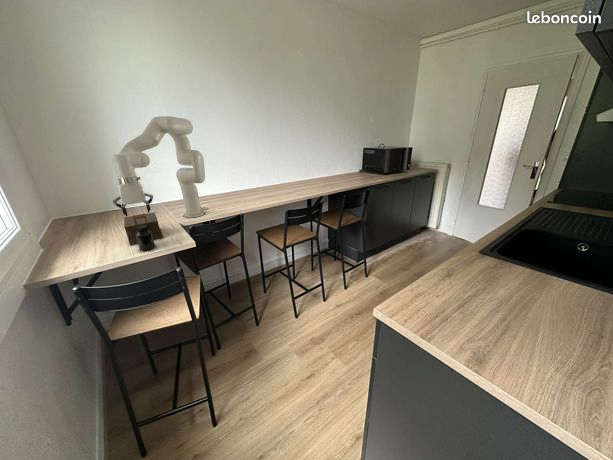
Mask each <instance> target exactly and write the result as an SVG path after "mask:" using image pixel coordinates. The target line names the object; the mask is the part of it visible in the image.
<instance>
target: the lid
mask: <svg viewBox="0 0 613 460" xmlns="http://www.w3.org/2000/svg"><path fill="white" fill-rule="evenodd" d="M123 220H124V221H123V222H124V223H123V226H124V227H123V228H124V229H125V228H130V227H135V226H141V225H146V224H151V223H156V222H158V223H159V221H158V217H157V215H156V211H154V212H153V211H152V212H150V213H149V212H147V213H139V214H134V215H131V216H125V217H124V219H123Z"/></svg>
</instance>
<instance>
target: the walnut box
mask: <svg viewBox="0 0 613 460" xmlns="http://www.w3.org/2000/svg"><path fill="white" fill-rule="evenodd" d="M146 225H147V227H148V230H150V231H151V232H152V236H153V239H154V241H158V240H162V239H163V236H162V232H161V229H160V225H159V221H158V222H156V223H151V224H146ZM136 227H138V226H135V227H130V228H124V230H125V233H126V236H127V240H128V242H129V246H134V245H138V242H137V239H136V233H137V231H136Z"/></svg>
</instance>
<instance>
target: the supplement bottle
mask: <svg viewBox="0 0 613 460" xmlns="http://www.w3.org/2000/svg"><path fill="white" fill-rule="evenodd" d="M136 231H137V233H136V239H137V242H138V244H137V245H138V248H139V250H140V251H141V252H149V251H153V250H154V249H155V248H156V243H155V240H154V239H153V236H152V232H151V231H150V230H148V227H147V225H141V226H138V227H136Z"/></svg>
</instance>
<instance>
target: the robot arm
mask: <svg viewBox="0 0 613 460" xmlns="http://www.w3.org/2000/svg"><path fill="white" fill-rule="evenodd" d="M193 130H194V125H193V124H192V122H191V120H189V119H187V118H182V117H177V116H172V115H171V116H170V115H169V116H168V115H167V116H166V115H165V116H162V115H161V116H160V115H159V116H154V117H153V118H151V119H150V121H149V123H148V124H147V125H146V127H145V128H144V130H143V131H142V133H140V134H138V135H137V136H135V137H134V138H133V139H131V140H129V141H128V142H127V143H126V144H125V145H124V146H122V149H121V150H120V151H119V153H115V154H112V156H111V160H112V164H113V167H114V170H115V174H116V177H117V180H118V184H117V188H118V193H119V196H117V197H115V198H114V199H112V201H111V202H112V203H113V204H114V205H115V206H116V207H117V208H120V209H121V210H122V214H123V215H124V216H125V217H129V216H128V211H127V208H126V206H127V205H133V204H141V203H144V204H145V207H146V211H147V213H151V212H150V211H151V206H150V204H151V203H152V202H153V199H154V195H153V194H151V193H147V192H145V191H144V188H143V185H142V183H141V180H142V179H141V176H137V172H136V170H135V169H142V168H146V167H149V165H150V163H151V158H150V156H149V155H148V154H147V153H145V151H147V150H151V149H153V148H155V147H157V146H159V144H160V143H161V141H162V139H163V138H164V136H165V135H166V134H168V135H169V136H170V137H171V138H172V139H173V142H174V147H175V155H176V160H177V163H178V164H179V165H180V166H185V167H180V168H179V169H177V171H176V172H175V173H176V174H175V175H176V179H177V182H178V184H179V186H180V190H181V194H182V199H183V204H184V208H185V212H184V214H183V216H184V217H185V218H189V219H191V218H198V217H201V216H204V215H205V211H209V207H208V206H207V207H206V206H203V207H202V205H201V202H200V201H201V200H200V195H199V191H198V187H197V185H196V184H203V183H204V182H205V179H206V168H205V159H204V156H203V154H202V152H201V151H199V150H197V149H192V147H191V141H190V138H188V136H187V135H190V134H192V133H193ZM186 166H189V167H186ZM146 197H148V198H149V199H148V200H147V199H146ZM118 201H121V203H118Z"/></svg>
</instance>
